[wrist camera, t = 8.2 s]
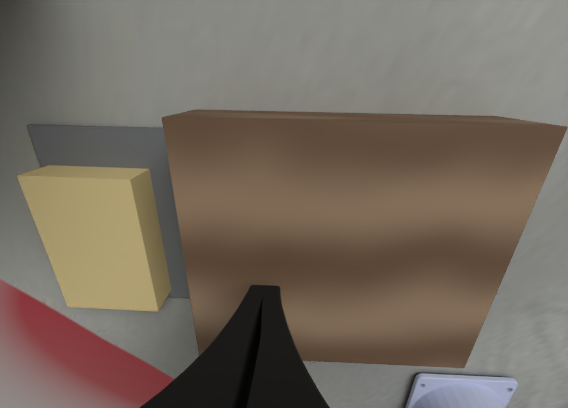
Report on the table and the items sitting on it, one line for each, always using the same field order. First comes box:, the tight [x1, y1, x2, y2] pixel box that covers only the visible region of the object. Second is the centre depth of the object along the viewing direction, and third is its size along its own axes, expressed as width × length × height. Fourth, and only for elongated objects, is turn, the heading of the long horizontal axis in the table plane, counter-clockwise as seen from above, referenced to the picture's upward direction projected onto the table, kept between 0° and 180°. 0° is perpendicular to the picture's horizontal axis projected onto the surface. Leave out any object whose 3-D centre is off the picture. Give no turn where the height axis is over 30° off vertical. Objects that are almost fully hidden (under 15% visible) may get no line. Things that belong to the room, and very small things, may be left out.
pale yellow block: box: [17, 165, 171, 311], centre depth 17 cm, size 9×6×2 cm, turn 178°
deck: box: [162, 110, 567, 368], centre depth 15 cm, size 14×16×4 cm
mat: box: [26, 125, 190, 298], centre depth 17 cm, size 12×9×1 cm
